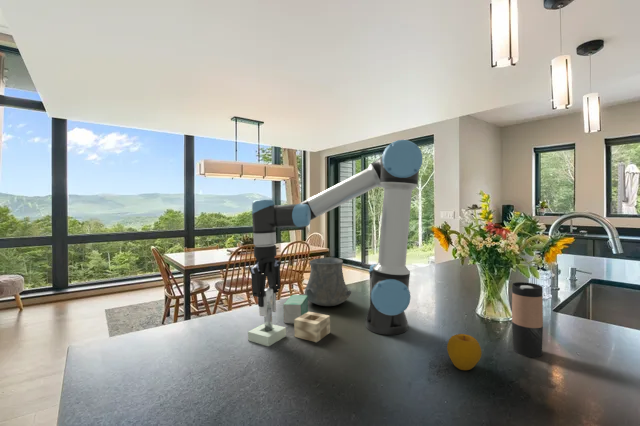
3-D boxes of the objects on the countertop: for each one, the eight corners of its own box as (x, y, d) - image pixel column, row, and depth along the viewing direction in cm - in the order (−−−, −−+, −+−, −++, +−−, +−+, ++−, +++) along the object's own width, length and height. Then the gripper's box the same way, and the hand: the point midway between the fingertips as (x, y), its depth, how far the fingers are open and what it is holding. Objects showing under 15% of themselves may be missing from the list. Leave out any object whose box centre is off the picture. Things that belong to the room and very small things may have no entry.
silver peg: (277, 328, 106) (275, 288, 105) (269, 333, 102) (267, 291, 102) (268, 326, 108) (266, 287, 107) (260, 330, 104) (258, 290, 104)
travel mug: (537, 347, 94) (537, 283, 94) (547, 359, 87) (547, 289, 87) (509, 344, 97) (509, 281, 96) (516, 355, 90) (515, 287, 89)
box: (308, 311, 131) (308, 294, 131) (302, 324, 118) (301, 304, 117) (291, 311, 132) (291, 294, 132) (283, 323, 119) (282, 304, 118)
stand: (285, 336, 107) (285, 327, 107) (268, 346, 99) (268, 337, 99) (266, 330, 111) (266, 322, 111) (248, 340, 104) (248, 331, 104)
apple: (480, 380, 78) (480, 345, 78) (444, 371, 82) (444, 338, 82) (483, 364, 85) (482, 333, 85) (450, 357, 90) (449, 327, 89)
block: (330, 332, 109) (329, 315, 109) (316, 342, 101) (316, 324, 101) (309, 327, 114) (308, 311, 113) (294, 336, 106) (294, 319, 106)
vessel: (338, 315, 126) (337, 266, 125) (295, 306, 138) (294, 262, 137) (360, 300, 144) (360, 258, 144) (320, 294, 156) (320, 254, 155)
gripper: (272, 241, 114) (275, 304, 114) (238, 248, 99) (241, 320, 100) (289, 242, 110) (291, 307, 110) (255, 249, 95) (258, 324, 96)
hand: (268, 313), depth 105 cm, fingers closed on silver peg, 4 cm apart
